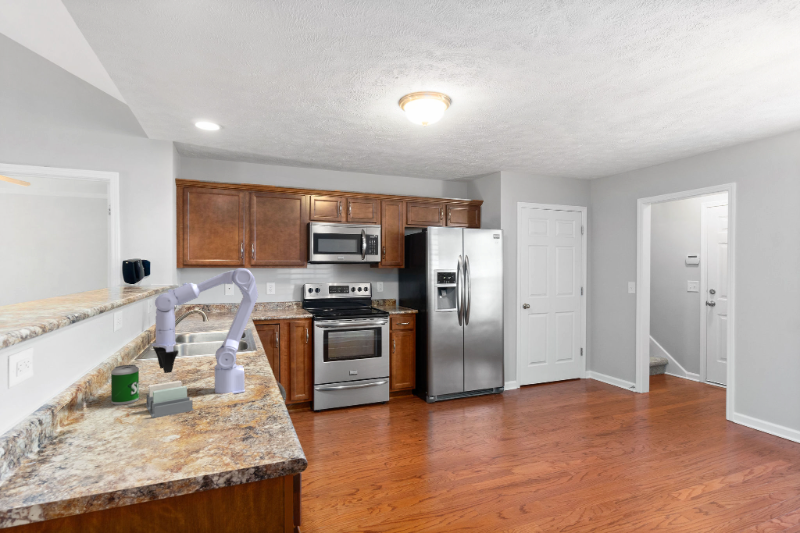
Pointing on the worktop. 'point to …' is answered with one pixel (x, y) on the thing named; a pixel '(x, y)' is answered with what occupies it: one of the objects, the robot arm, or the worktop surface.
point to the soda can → (124, 384)
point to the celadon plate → (169, 394)
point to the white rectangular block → (163, 386)
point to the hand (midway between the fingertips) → (165, 370)
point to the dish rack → (168, 406)
